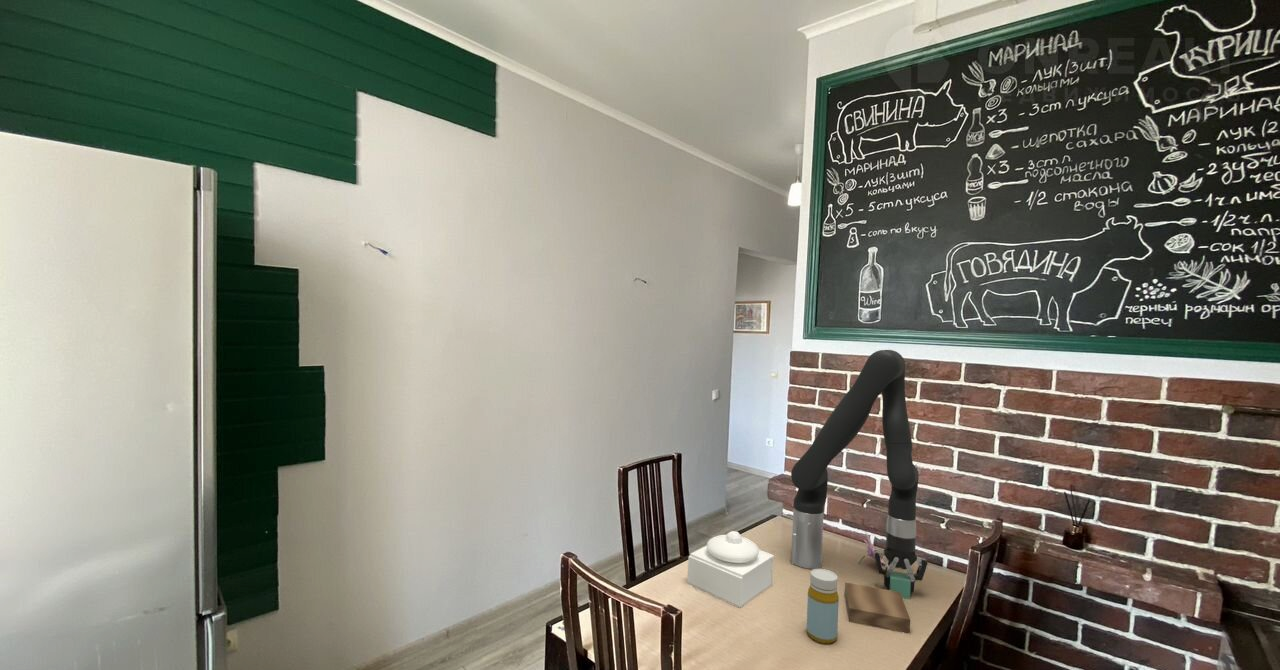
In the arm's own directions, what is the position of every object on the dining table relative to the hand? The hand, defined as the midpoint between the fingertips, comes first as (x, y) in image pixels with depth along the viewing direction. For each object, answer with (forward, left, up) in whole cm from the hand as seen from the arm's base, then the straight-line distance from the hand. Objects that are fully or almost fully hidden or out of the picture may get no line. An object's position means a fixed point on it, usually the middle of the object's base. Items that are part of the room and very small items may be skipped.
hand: (898, 590), depth 144 cm
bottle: (-22, -30, -1) cm, 37 cm away
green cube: (0, 0, -1) cm, 1 cm away
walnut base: (-8, -14, -1) cm, 16 cm away
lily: (-5, +16, -1) cm, 16 cm away
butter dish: (-46, -13, -1) cm, 48 cm away
